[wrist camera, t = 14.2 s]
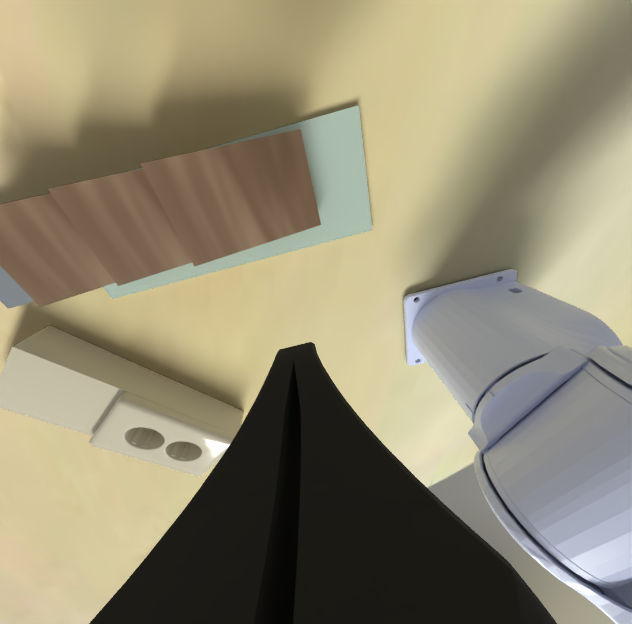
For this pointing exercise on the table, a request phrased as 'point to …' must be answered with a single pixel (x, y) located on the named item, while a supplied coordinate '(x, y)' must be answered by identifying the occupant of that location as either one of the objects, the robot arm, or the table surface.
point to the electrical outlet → (116, 402)
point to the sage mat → (329, 188)
